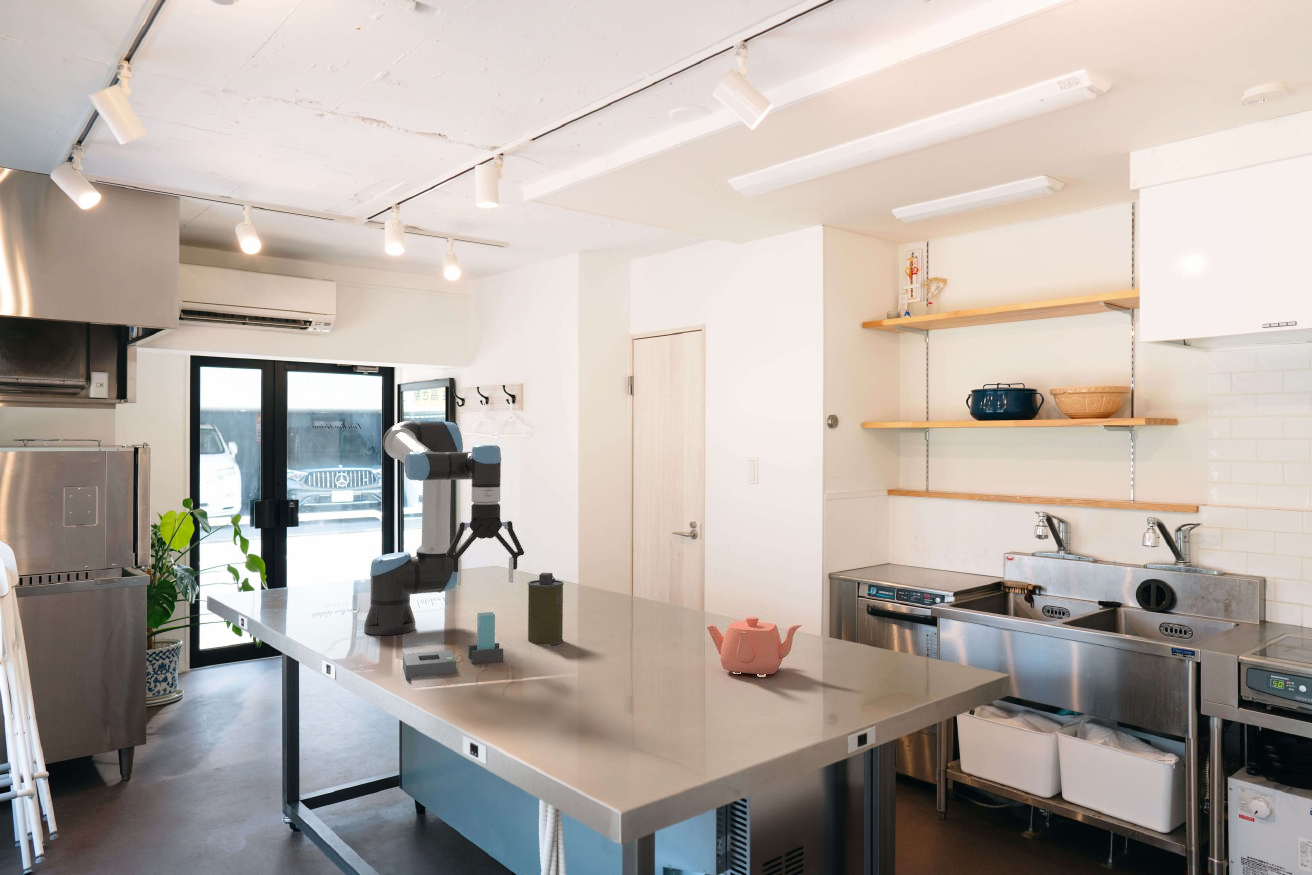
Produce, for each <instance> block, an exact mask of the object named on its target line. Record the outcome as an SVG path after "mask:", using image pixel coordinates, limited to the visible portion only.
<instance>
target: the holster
mask: <svg viewBox="0 0 1312 875" xmlns="http://www.w3.org/2000/svg"><path fill="white" fill-rule="evenodd" d="M467 654H468V655H467V656H468V660H469V662H470V663H471V664H472V665H478V664H479V665H480V664H489V663H502V662H504V649H503V648H502V647H500V643H499V642H495V649H487V650H477V644H469V645H468V653H467Z"/></svg>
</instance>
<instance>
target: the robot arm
mask: <svg viewBox="0 0 1312 875" xmlns="http://www.w3.org/2000/svg"><path fill="white" fill-rule="evenodd" d="M460 430H461V429H460V428H459V426H458V425H457V424H456V423H454V422H451V421H443V420H440V421H439V420H437V421H430V420H429V421H427V420H416V421H415V420H405V421H400V422H399V423H396V424H394V425H392V426H391V427H390V428H389V429H387V431H386V432H385V434H384V436H383V437H382V447H383V448H384V449H383V450H384V451H385V453H386V454H387V455H388V456H390V458H392V459H394V460H397V461H398V460H399V461H400V462H401V463H403V464H404V473H405V477H406V478H407V479H408V480H411V481H418V482H421V481H422V505H421V506H422V507H421V508H422V512H421V513H422V514H421V516H422V517H421V545H420V546H419V547H417V549H416V551H415V552H416V555H415V556H412V555H411V553H410V552H408V551H407V552H406V551H402V552H393V553H386V554H382V555H379V556H377V557H375V558H373V559H372V560H371V565H370V572H369V574H370V606H369V609H368V611H367V614H366V617H365V621H364V624H363V625H364V626H363V631H364V633H365V634H367V635H368V634H369V635H374V636H391V635H394V636H395V635H402V634H407V633H410V632H413V631H415V630H416V619H415V615H414V613H413V610H412V607H411V595H419V594H431V593H440V594H441V593H442V592H450V591H452V590H454V589H455V588H456V586H462V559H461V557H462V555H463V554H464V553H465V552H466V550H467V549H469V547H470V546H471V545H472V543H473V542H474V541H475V540H476V539H477V538H478V539H480V540H483V539H486V538H487V539H493V538H494V537H495V539H497V541H498V542H500V544H501V545H502V546H503V548H505V549H506V551H507V552H508V554H510V555H511V556H508V582H509V583H510V584H511V583H512V584H513V583H514V570H517V569H518V558H519V557H520V556H523V555H524V554H525V551H524V549H523V547H522V545H521V543H520V540H519V539H518V537H517V535H516V533H515V531H514V526H513V521H512V520H509V519H507V520H506V521H501V504H500V503H499V502H501V475H502V474H501V472H502V470H501V468H502V467H501V465H502V462H501V461H502V455H501V447H500V446H499V445H497V444H496V445H495V444H494V445H493V444H490V445H489V444H488V445H487V444H483V445H482V444H480V445H478V444H477V445H476V444H475V445H473V446H472V448H471V449H472V450H471V451H464V443H463V437H462V434H461V431H460ZM452 480H454V481H457V480H465V481H466V480H471V502H472V505H471V509H470V510H471V513H470V514H471V517H470V518H471V520H470V522H465V521H459V523H458V529H457V531H456V534H455V536H454V537H453V539H452V542H451V544H450V540H451V536H450V535H451V532H450V531H451V495H452V494H451V493H452V492H451V491H452V490H451V486H452V483H451V481H452ZM468 528H470V530H471V531H472V532H471V533H470V535H469V536H468V538H467V539H466V540H465V541H464V542H463V543H462V545H461V546H460V547H459V548H458V549H457V547H458V544H459V542H460V541H461V539H462V536H463V535H464V532H465V531H467V530H468ZM501 528H503V529H505V530H506V531H507V533H508V535H509V537H510V539H511V541H512V543H513V545H514V546H515V549H516V551H515V550H514V549H513V547H512V546H511V544H509V543H508V541H506V539H505V538H504V537H503V536H502V534H501V533H500V532H499V531H500V530H501ZM456 549H457V550H456ZM455 551H456V552H455Z"/></svg>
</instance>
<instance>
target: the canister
mask: <svg viewBox="0 0 1312 875" xmlns="http://www.w3.org/2000/svg"><path fill="white" fill-rule="evenodd" d="M538 578H539V579H537V580H530V581H528V582H527V585H528V588H527V590H528V591H527V593H528V595H527V596H528V597H527V598H528V600H527V602H528V603H527V606H528V609H527V611H528V613H527V619H528V620H527V641H528V642H529V643H532V644H536V645H550V646H557V645H559V644H563V643H564V639H563V638H564V637H563V631H564V630H563V628H564V627H563V626H564V625H563V624H564V623H563V622H564V621H563V620H564V610H563V609H564V608H563V607H564V584H565V583H564V581H562V580H559V579H556V578H555V577H554V576H553V572H541V573H540V574H539V576H538Z"/></svg>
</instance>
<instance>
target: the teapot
mask: <svg viewBox="0 0 1312 875" xmlns="http://www.w3.org/2000/svg"><path fill="white" fill-rule="evenodd" d="M759 620H760V619H759V617H756V616H747V617H745V620H736V621H733V622H731V623H730V624H729V625H728V626H727V628H726V631H725V634H724V636H723V634H722V633H721V632H720V630H719V629H718V628H717V627H716V625H708V626H707V627H706V628H707V630H708V632H709V634H710V638H711V639H712V641H713V643H714V646H715V648H716V650H717V651H718V654H719V656H720V657H719V658H720V663H721V666H722V668H723V670H725V671H729V672H731V673H732V672H735V673H740V672H741V673H742V674H752V675H754V674H755V675H756V674H759V675H764V674H766V675H772V674H774V673H776V672H777V671H778V670H779V668H780V666H781V665H782V662H783V659H784V658H786V657H787V656H789V653H790V652H791V649H792V645H793V640H794V635H795V632H797V630H798V629H799V628H801V627H802V626H803V624H794V625H792V626H791V625H790V627H789V628H788V629H787V630H786V636H785V639H784V641H783V642H782V640H781V636H780V633H779V629H778V626H777V624H776V623H771V622H763V621H759Z"/></svg>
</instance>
